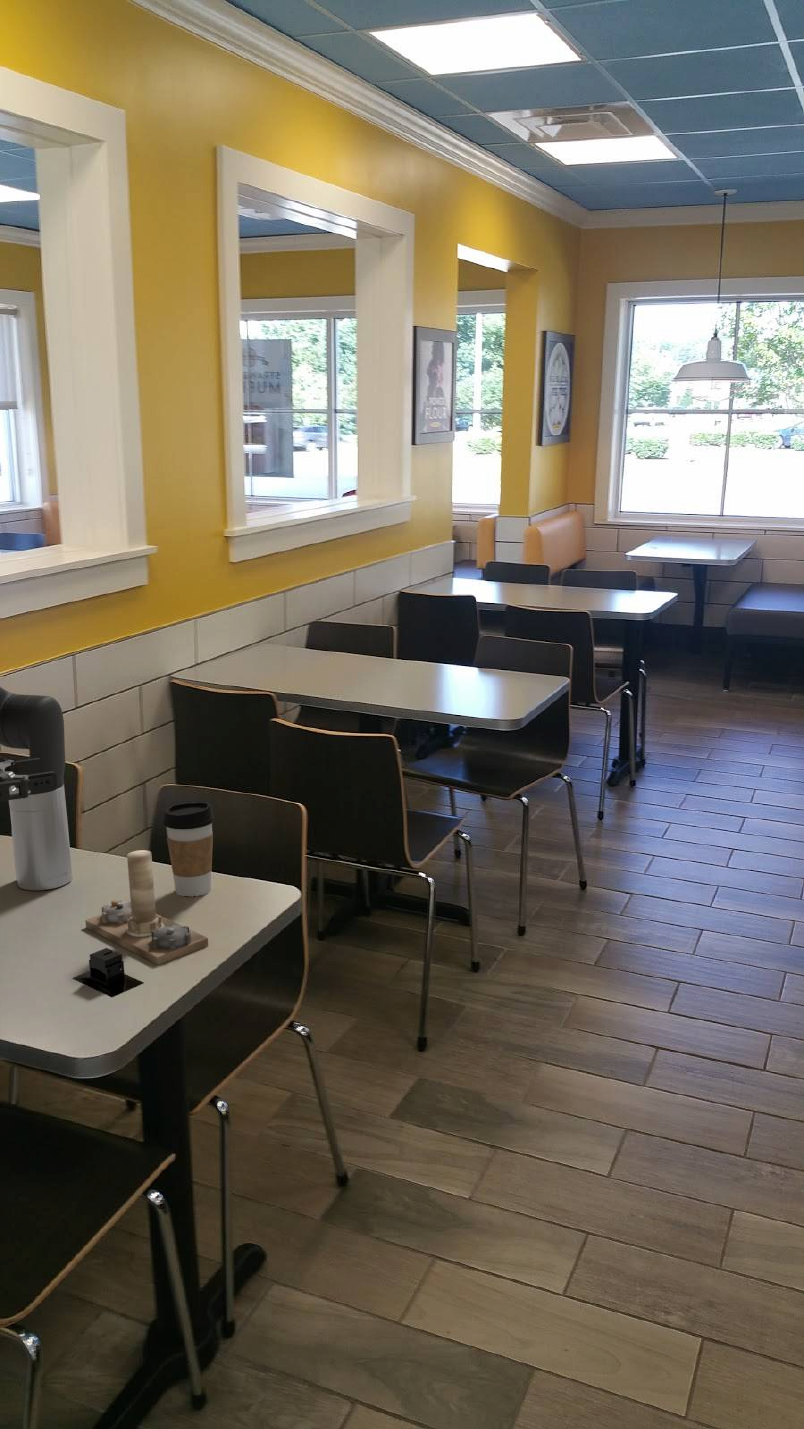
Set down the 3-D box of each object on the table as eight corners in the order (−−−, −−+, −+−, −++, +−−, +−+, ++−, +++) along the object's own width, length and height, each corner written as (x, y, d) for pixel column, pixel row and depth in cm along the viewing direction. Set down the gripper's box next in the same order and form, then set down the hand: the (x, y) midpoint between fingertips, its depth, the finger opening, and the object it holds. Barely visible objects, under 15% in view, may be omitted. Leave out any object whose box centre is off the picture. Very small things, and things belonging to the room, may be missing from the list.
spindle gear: (122, 928, 176) (116, 854, 174) (148, 918, 180) (143, 846, 177) (140, 937, 173) (134, 862, 170) (166, 927, 176) (161, 854, 173)
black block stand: (155, 987, 161) (153, 957, 160) (112, 1006, 156) (110, 975, 155) (102, 963, 169) (100, 934, 168) (59, 981, 163) (57, 951, 162)
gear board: (85, 927, 180) (84, 907, 180) (135, 910, 187) (133, 891, 186) (157, 964, 167) (156, 943, 166) (208, 945, 173) (207, 925, 172)
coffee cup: (208, 901, 190) (202, 815, 186) (160, 898, 191) (154, 813, 188) (225, 882, 198) (220, 799, 194) (179, 880, 199) (173, 797, 196)
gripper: (-66, 776, 151) (59, 757, 159) (-82, 752, 163) (34, 736, 171) (-59, 830, 152) (63, 809, 160) (-76, 803, 164) (39, 784, 172)
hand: (48, 771), depth 166 cm, fingers open, 8 cm apart
